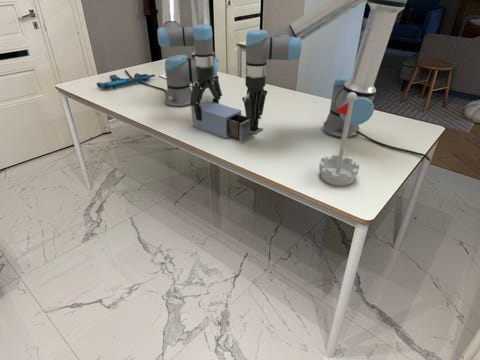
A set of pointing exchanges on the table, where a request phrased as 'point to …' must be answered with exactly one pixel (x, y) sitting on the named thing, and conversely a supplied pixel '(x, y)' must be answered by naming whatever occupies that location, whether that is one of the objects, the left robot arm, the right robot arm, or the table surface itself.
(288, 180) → the table surface
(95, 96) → the table surface
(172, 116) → the table surface
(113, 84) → the submachine gun
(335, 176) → the flag stand
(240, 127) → the drawer
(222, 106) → the cabinet
